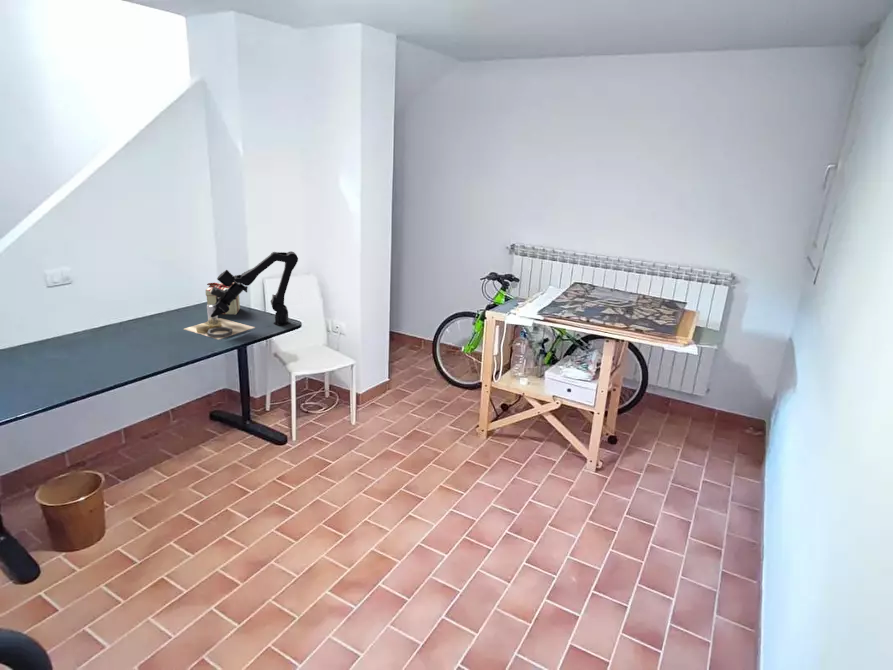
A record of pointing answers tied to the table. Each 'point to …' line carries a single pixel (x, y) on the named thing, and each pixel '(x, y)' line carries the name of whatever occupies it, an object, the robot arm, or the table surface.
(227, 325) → the board
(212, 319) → the silver round piece
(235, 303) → the gift box
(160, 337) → the table surface
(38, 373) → the table surface
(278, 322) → the robot arm
